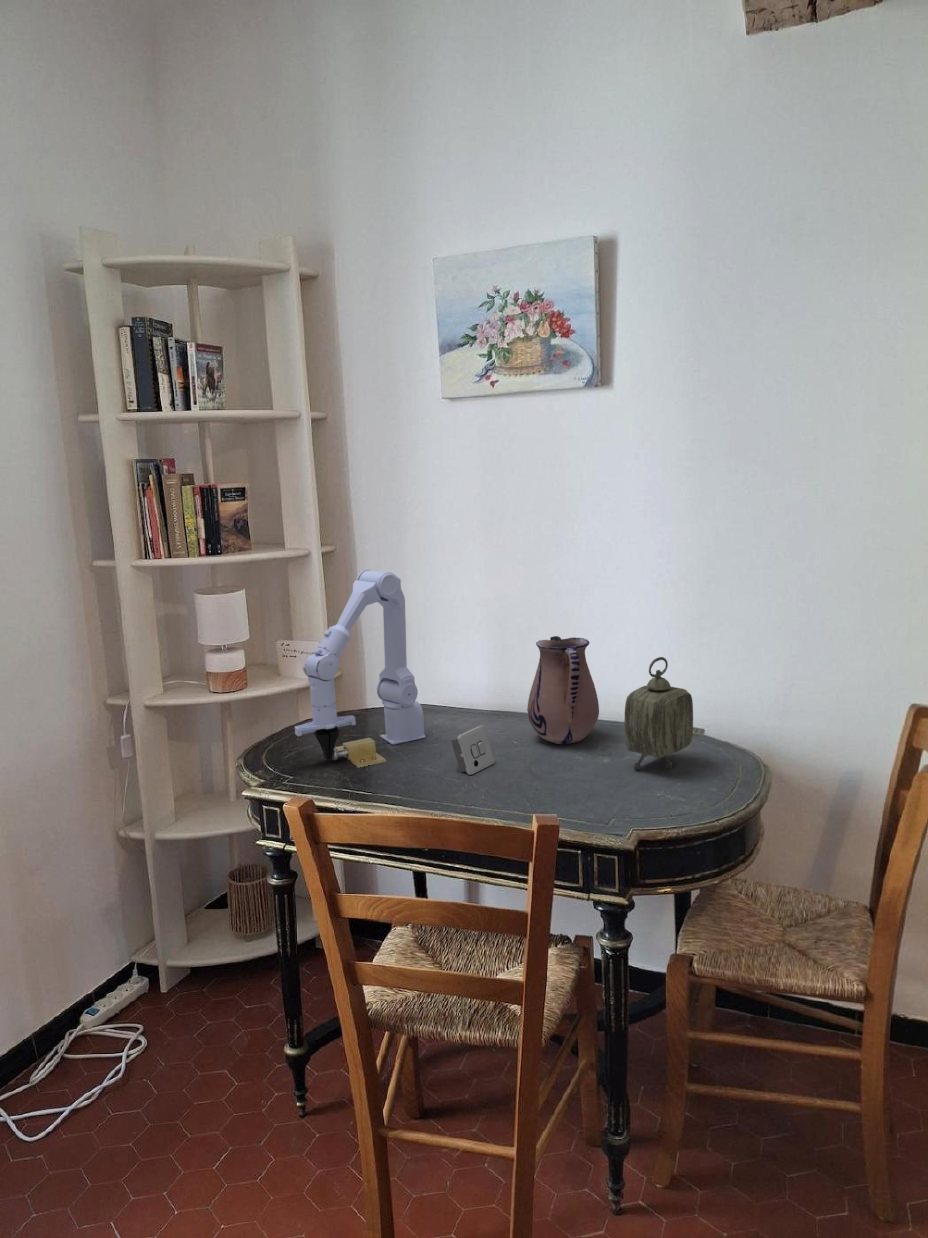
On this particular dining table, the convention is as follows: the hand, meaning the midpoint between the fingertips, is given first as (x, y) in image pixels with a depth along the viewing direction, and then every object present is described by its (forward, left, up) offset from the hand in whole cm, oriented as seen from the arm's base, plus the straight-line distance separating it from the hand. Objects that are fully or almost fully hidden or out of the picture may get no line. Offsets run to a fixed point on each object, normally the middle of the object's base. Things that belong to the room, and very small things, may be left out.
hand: (328, 758), depth 219 cm
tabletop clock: (-61, +48, -1) cm, 78 cm away
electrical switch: (-26, +24, -1) cm, 36 cm away
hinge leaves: (-8, 0, -1) cm, 8 cm away
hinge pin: (-6, 0, -1) cm, 6 cm away
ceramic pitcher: (-54, +21, -1) cm, 58 cm away
